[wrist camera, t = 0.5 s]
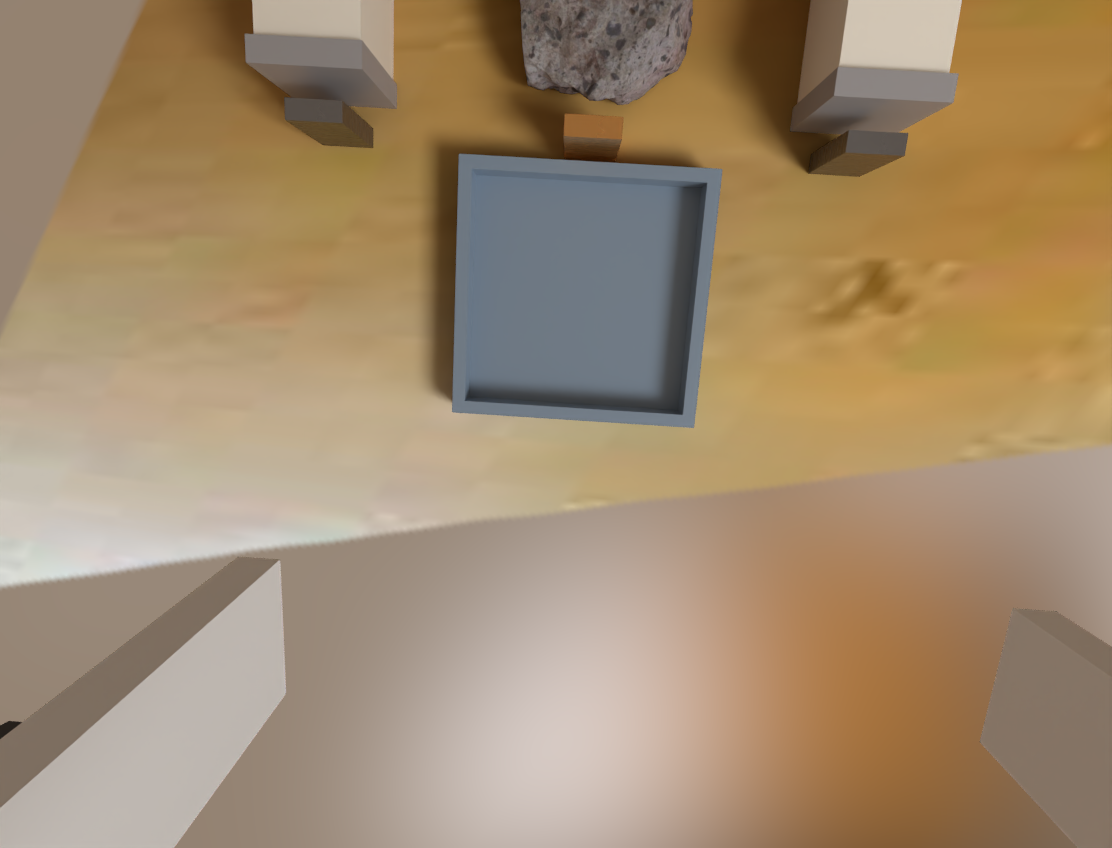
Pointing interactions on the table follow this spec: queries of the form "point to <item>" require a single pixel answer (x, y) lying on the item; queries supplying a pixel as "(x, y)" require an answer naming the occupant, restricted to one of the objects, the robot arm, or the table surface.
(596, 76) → the rock
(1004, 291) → the table surface
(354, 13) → the fuse
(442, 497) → the table surface
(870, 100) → the fuse
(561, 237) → the tray
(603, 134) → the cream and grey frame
